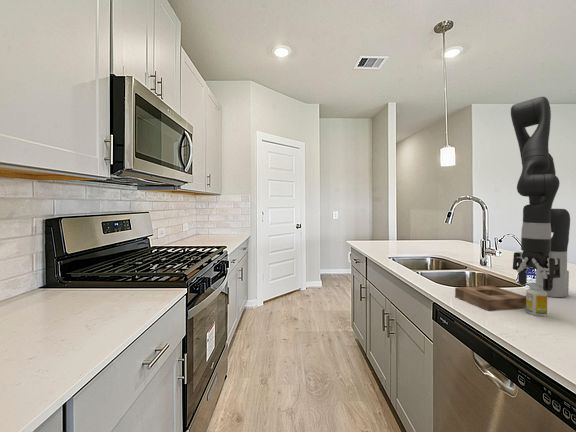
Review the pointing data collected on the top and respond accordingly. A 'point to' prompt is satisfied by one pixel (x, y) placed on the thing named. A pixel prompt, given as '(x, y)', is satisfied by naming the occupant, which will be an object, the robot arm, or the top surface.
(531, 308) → the supplement bottle
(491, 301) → the socket board
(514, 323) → the top surface
